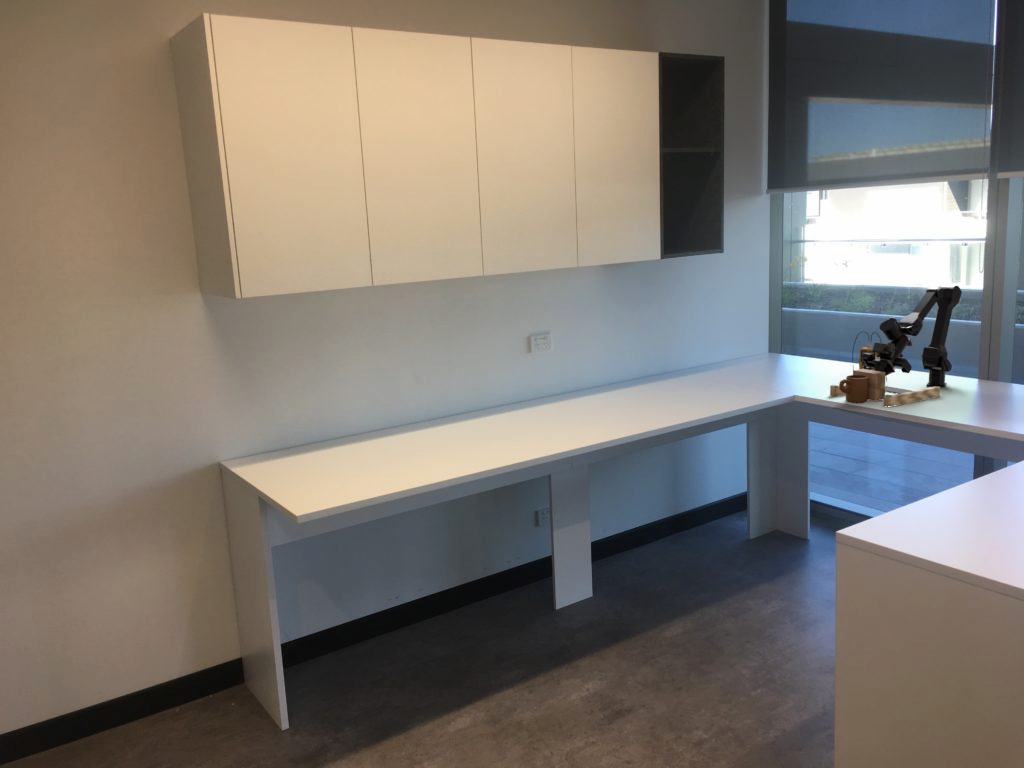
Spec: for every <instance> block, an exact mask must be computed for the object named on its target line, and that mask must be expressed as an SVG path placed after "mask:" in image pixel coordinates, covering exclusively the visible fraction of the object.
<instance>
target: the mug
mask: <svg viewBox="0 0 1024 768" xmlns="http://www.w3.org/2000/svg"><path fill="white" fill-rule="evenodd" d="M844 384H846V388H844ZM838 385H839V388H840V390H841V391H842V392H844V393H846V395H845V402H847V403H849V404H850V403H851V404H866V403H867V402H868V401H869V400H868V377H867V376H864V375H853V374H851V375H847V376H846V377H845V378H844V379H842V380H840V381H839V383H838ZM865 402H866V403H865Z"/></svg>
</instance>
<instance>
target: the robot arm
mask: <svg viewBox="0 0 1024 768" xmlns="http://www.w3.org/2000/svg"><path fill="white" fill-rule="evenodd" d="M962 293H963V292H962V289H961V288H960V286H959V285H947V284H946V285H944V284H942V285H940V286H938V287H928V288H927V289H926V290H925V294H924V295H923V296H922V297H921V299H920V301H918V303H917V305H915V307H914V308H913V310H912V312H911V313H910V314H907V315H906V316H904V317H903V318H901V320H900V321H898V320H897V318H896V317H891V316H890V317H889V319H886V320H884V321H883V322H881V323H880V324H879V330H880V332H881V333H882V334H883V335H884V336H885V338H886V339H887V340H888V341H889V342H888V343H883V342H874V344H873V345H872V348H873V349H872V351H875V352H877V353H878V354H877V355H878V356H879V357H875V356H874V355H873V354H868V353H864V354H863V355H862V357H861V359H862V361H863V362H864V363H865V364H866V366H868V367H871V368H875V371H880V372H886V373H885V377H887V376H889V375H891V374H893V373H894V374H895V373H896V369H898V368H899V367H900V370H901V372H902V373H904V374H909V373H911V371H912V369H913V368H912V365H911V363H910V362H909V361H908V360H907V358H905V357H904V355H903V352H905V351H904V350H905V349H906V348H907V347H912V346H913V343H912V339H911V338H909V336H910V337H917V336H918V335H919V334H920V332H921V331H922V328H923V326H924V325H923V324H924V323H923V321H924V320H925V318H926V317H927V315H929V313H930V312H931V310H932V308H934V306H935V304H937V308H938V309H937V313H936V318H935V322H934V327H933V331H932V337H931V341H930V343H929V344H928V346H924V347H923V348H922V349H923V350H922V355H921V362H922V366H923V370H928V382H927V383H926V387H935V386H936V387H940V388H946V386H947V384H948V383H947V382H946V372H947V373H949V372H951V371H952V367H953V365H952V363H951V362H950V360H949V359H948V354H949V353H948V350H947V348H946V342H947V336H948V332H949V328H950V323H951V318H952V313H953V309H955V307H956V306H957V305H958V304H959V302H960V300H961V296H962ZM903 357H904V358H903Z"/></svg>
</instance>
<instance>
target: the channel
mask: <svg viewBox="0 0 1024 768" xmlns="http://www.w3.org/2000/svg"><path fill="white" fill-rule="evenodd" d="M829 387H830V388H829V389H830V390H829V396H830V395H831V396H830V397H833V396H836V397H839V396H838V395H841V396H845V395H844V394H846V393H844V392H842V391H841V390H840V388H839V384H838V385H837V384H831V385H829ZM844 388H846V384H845V383H844ZM938 396H939V397H940V396H941V387H936V386H935V387H934V386H929V387H926V388H921V389H916V390H912V391H910V392H905V393H900V394H896V393H895V394H885V395H884V398H883V399H882V400H883V404H882V406H887V407H886V408H889V407H888V406H892V407H895V406H894V405H897V406H900V405H899V404H902V405H906V404H910V402H911V403H915V401H916V402H921V401H925V400H929V399H928V398H930V399H934V398H933V397H935V398H939V397H938ZM924 399H925V400H924ZM920 400H921V401H920ZM905 403H906V404H905Z"/></svg>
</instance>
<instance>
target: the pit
mask: <svg viewBox="0 0 1024 768" xmlns="http://www.w3.org/2000/svg"><path fill="white" fill-rule="evenodd" d="M885 391H887V392H886V393H891V392H893V393H892V394H896V393H898V394H900V393H905V392H910V391H913V390H911V389H904V388H899V387H892V386H887V385H885Z"/></svg>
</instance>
